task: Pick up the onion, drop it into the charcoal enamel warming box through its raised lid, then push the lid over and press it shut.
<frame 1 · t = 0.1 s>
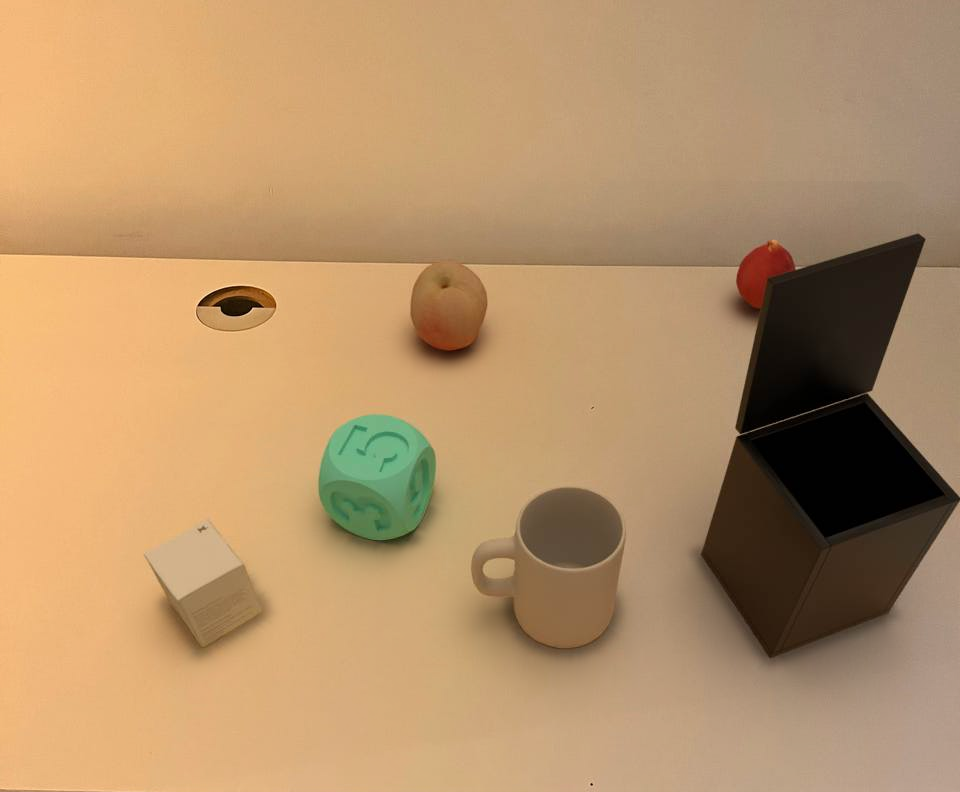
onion: (757, 308, 100), on the table
mug: (542, 609, 80), on the table
warmer: (792, 583, 81), on the table
fruit: (450, 339, 99), on the table
product box: (217, 609, 81), on the table
decorative dice: (383, 508, 87), on the table
warmer lid: (824, 339, 66), point 21 cm above the table, hinge at 95.0°
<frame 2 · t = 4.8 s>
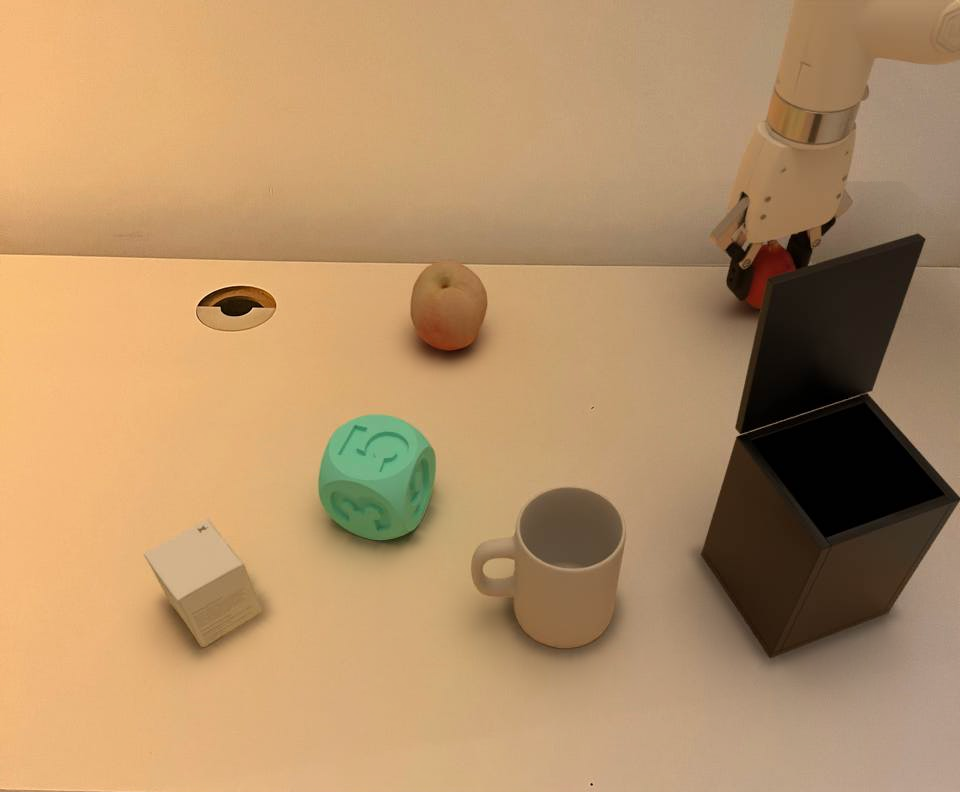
hand: (764, 283, 97), 3 cm above the table, tool pointing down, fingers closed on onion, 5 cm apart
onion: (757, 308, 100), on the table, touching gripper
everything else where it was.
when the fingers open (15 cm above the table, at t = 16.7 s): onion drops 11 cm, resting on warmer.
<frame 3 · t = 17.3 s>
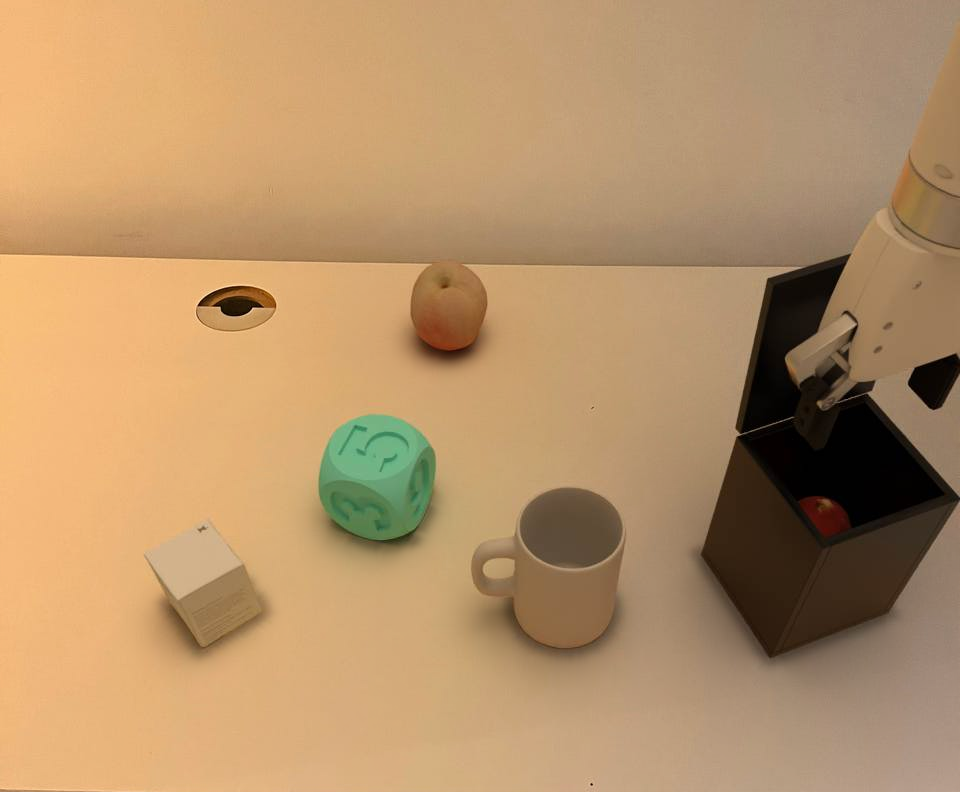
hand: (866, 416, 67), 18 cm above the table, tool pointing down, fingers open, 9 cm apart
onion: (801, 559, 82), point 1 cm above the table, touching warmer
everything else where it was.
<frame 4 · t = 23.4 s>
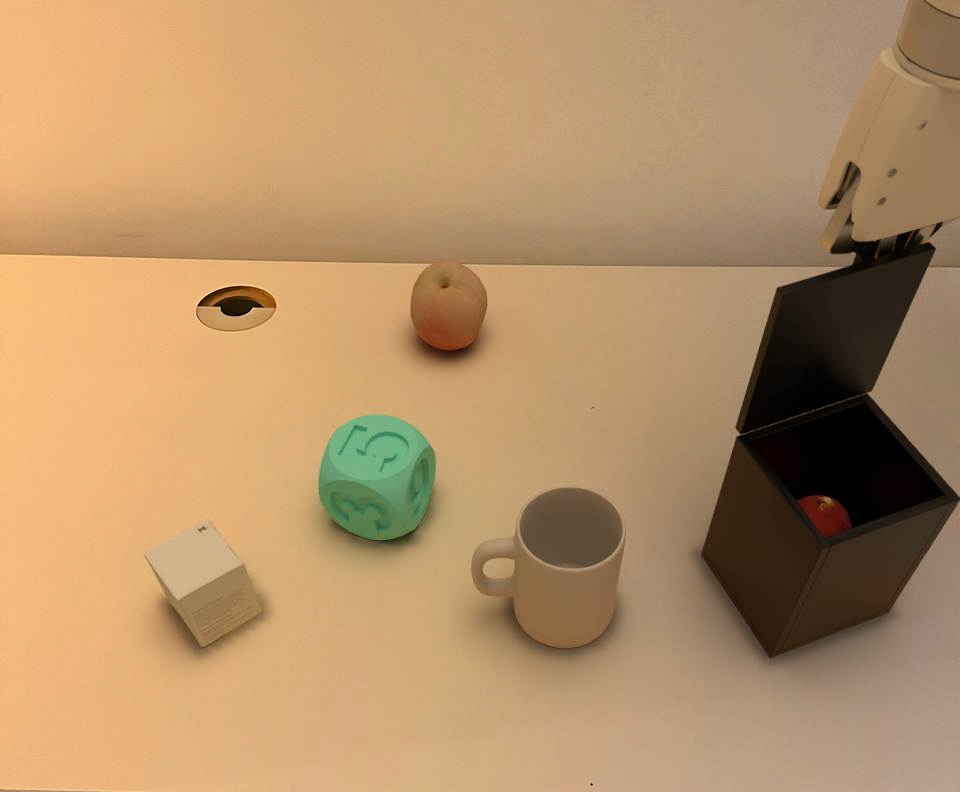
hand: (862, 305, 67), 22 cm above the table, tool pointing down, fingers closed
warmer lid: (828, 344, 66), point 21 cm above the table, hinge at 89.8°, touching gripper
everything else where it was.
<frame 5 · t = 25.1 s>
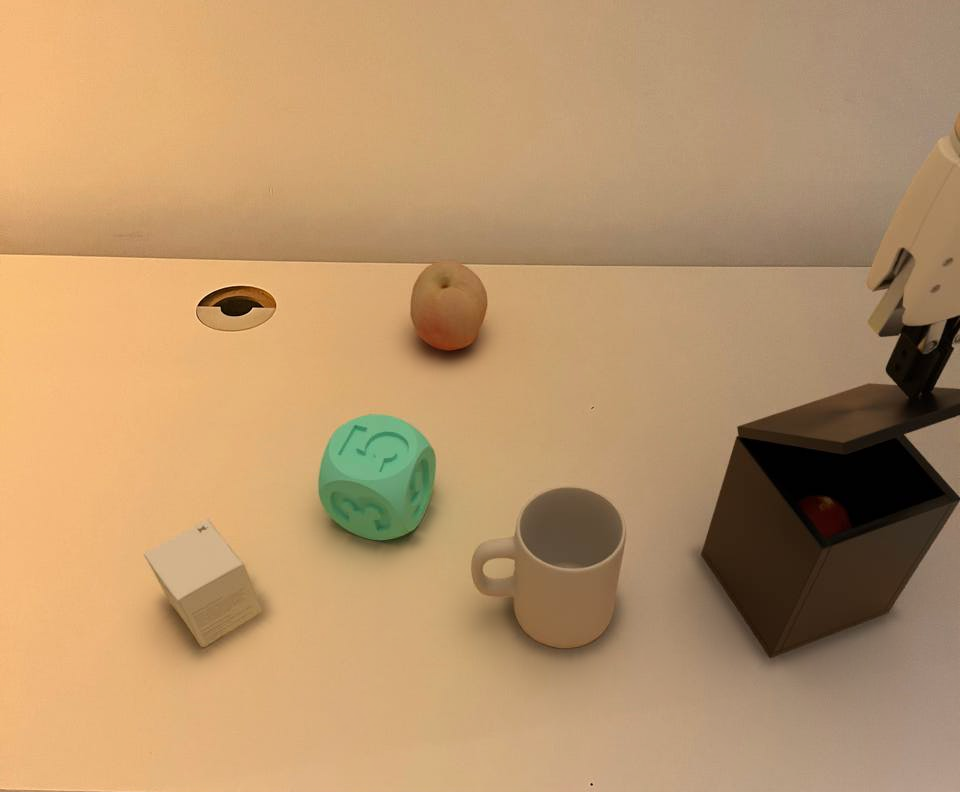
hand: (907, 381, 65), 20 cm above the table, tool pointing down, fingers closed
warmer lid: (858, 415, 65), point 19 cm above the table, hinge at 38.2°, touching gripper
everything else where it was.
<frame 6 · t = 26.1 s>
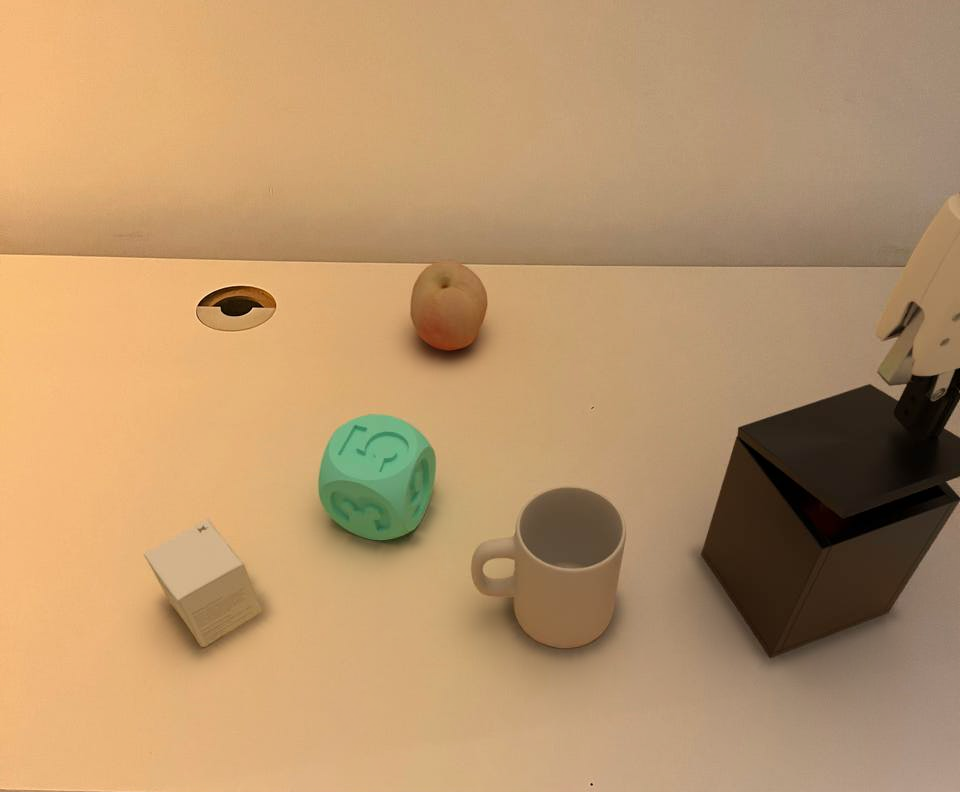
hand: (915, 425, 66), 18 cm above the table, tool pointing down, fingers closed
warmer lid: (857, 445, 66), point 17 cm above the table, hinge at 17.4°, touching gripper
everything else where it was.
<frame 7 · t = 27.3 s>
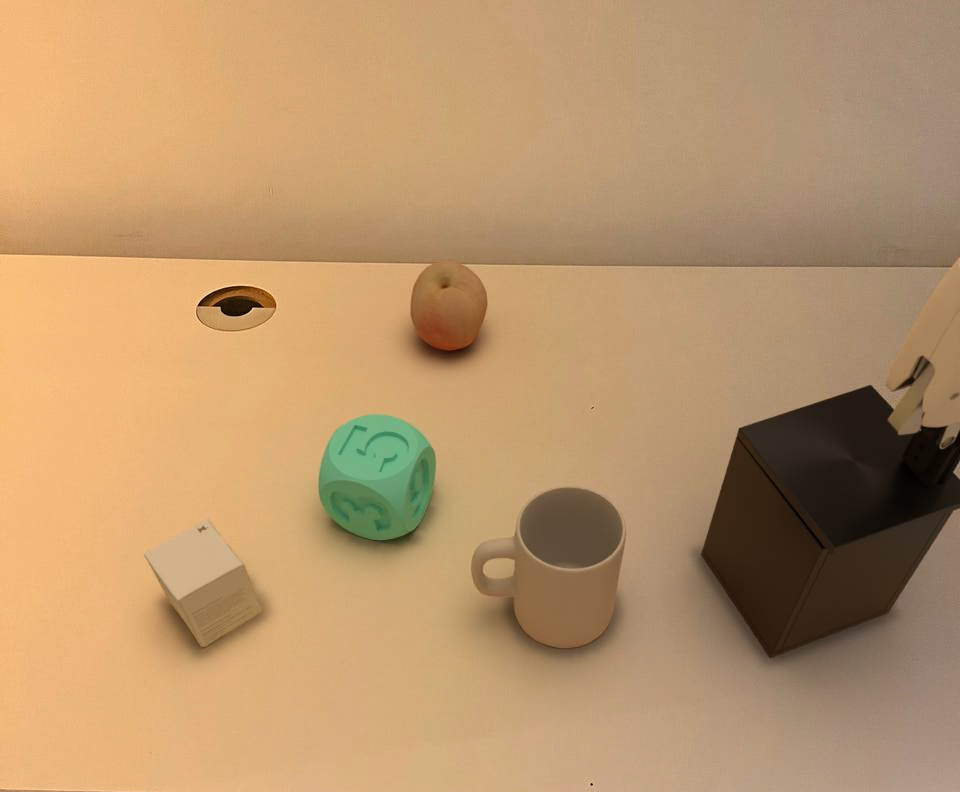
hand: (924, 469, 67), 16 cm above the table, tool pointing down, fingers closed
warmer lid: (852, 465, 68), point 15 cm above the table, hinge at 1.5°, touching gripper
everything else where it was.
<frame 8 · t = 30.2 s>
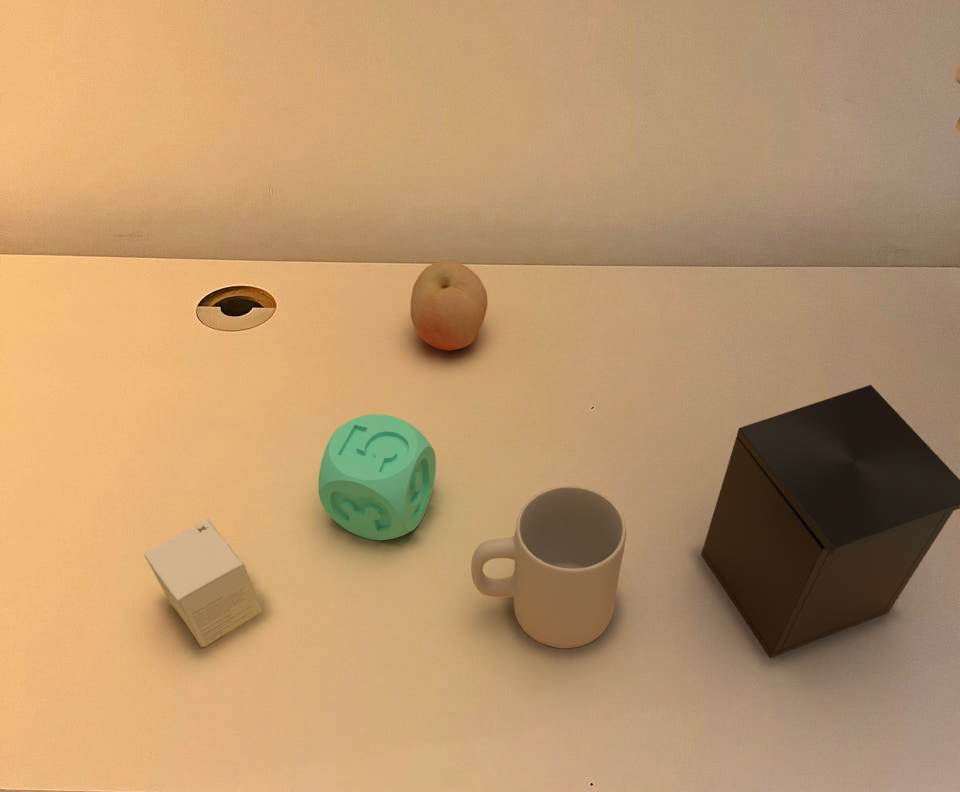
warmer lid: (852, 465, 68), point 15 cm above the table, hinge at 1.4°
everything else where it was.
at the end: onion inside the target area in the warmer (2.3 cm from its centre), point 0.6 cm above the warmer's base; warmer lid at +1° (first picture: +95°) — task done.
